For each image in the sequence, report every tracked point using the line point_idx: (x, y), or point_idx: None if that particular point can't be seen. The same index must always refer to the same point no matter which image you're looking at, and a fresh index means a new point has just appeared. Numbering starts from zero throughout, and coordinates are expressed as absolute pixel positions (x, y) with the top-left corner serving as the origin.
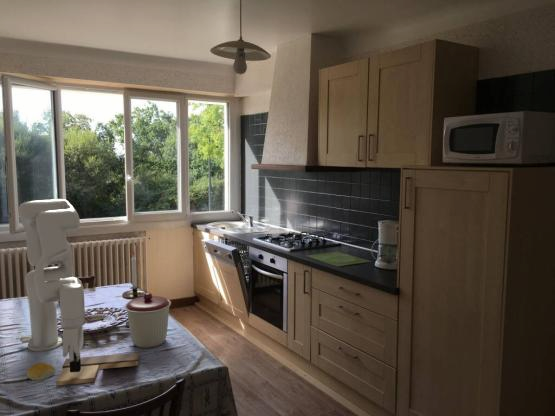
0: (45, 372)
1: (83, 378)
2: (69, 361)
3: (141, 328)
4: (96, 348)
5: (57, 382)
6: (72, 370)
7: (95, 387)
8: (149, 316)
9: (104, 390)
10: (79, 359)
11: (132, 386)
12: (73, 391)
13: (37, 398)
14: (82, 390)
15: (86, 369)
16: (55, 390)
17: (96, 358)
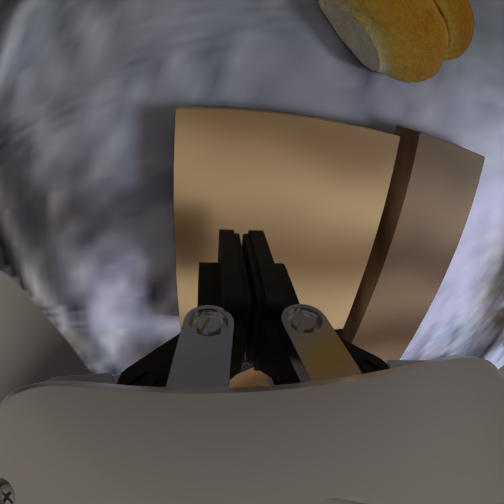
0: (356, 16)
1: (180, 292)
2: (454, 175)
3: None
4: (500, 259)
5: (176, 116)
6: (199, 262)
7: (135, 324)
8: None
9: (109, 354)
10: (255, 365)
11: None
12: (98, 231)
13: (54, 37)
14: (107, 275)
15: (315, 284)
16: (126, 113)
17: (410, 306)
